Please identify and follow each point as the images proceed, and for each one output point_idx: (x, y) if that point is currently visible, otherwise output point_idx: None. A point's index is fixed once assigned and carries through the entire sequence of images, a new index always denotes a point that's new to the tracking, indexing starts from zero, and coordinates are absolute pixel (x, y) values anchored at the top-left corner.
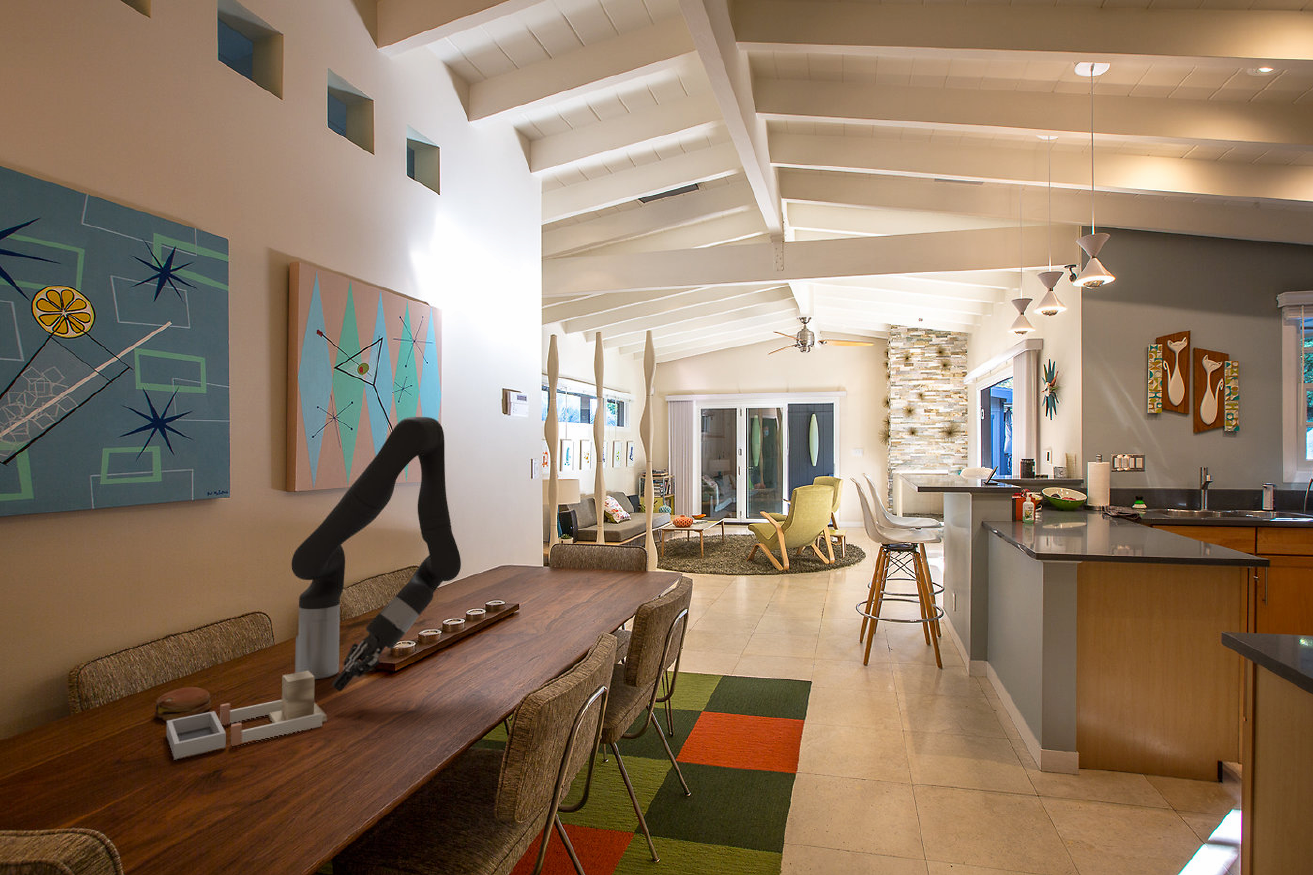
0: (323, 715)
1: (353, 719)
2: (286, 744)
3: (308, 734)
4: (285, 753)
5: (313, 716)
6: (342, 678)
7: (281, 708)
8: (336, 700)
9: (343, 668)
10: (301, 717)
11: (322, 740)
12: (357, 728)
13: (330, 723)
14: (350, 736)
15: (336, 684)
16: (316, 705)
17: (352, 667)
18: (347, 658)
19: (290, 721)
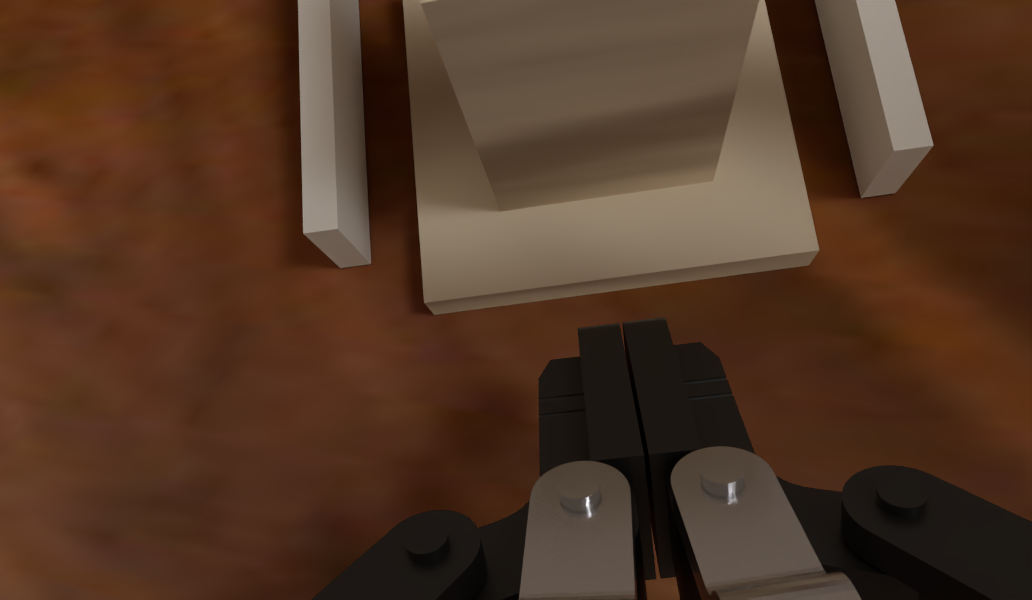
0: (444, 278)
1: (334, 516)
2: (165, 39)
3: (242, 169)
4: (34, 30)
5: (302, 168)
6: (570, 422)
7: (829, 2)
8: (935, 468)
9: (738, 450)
10: (322, 82)
11: (76, 241)
12: (123, 505)
13: (359, 332)
14: (11, 425)
15: (578, 358)
16: (740, 253)
17: (420, 546)
18: (995, 558)
19: (299, 11)
